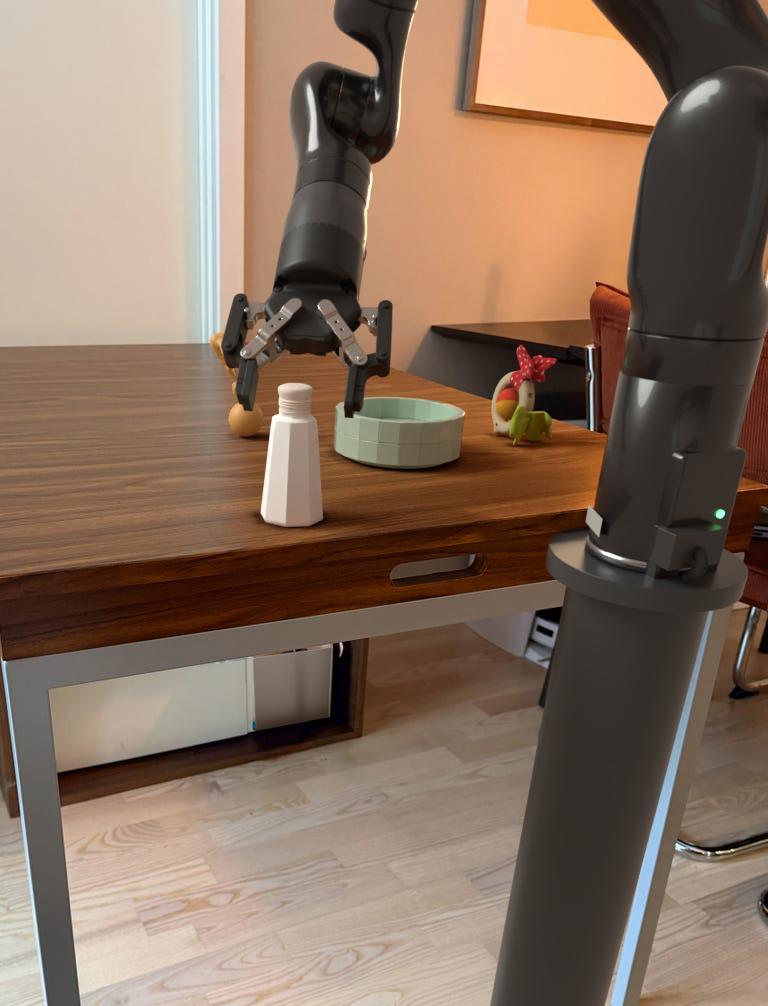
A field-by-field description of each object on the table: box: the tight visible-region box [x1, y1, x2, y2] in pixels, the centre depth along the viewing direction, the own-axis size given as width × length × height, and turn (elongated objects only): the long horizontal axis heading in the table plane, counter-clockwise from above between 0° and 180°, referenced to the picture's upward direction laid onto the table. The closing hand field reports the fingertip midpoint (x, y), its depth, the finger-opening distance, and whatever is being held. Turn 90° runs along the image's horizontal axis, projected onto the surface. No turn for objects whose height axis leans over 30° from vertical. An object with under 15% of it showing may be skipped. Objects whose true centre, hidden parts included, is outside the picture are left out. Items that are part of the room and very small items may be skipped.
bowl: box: [333, 396, 466, 470], centre depth 93 cm, size 14×14×5 cm
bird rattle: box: [491, 344, 558, 446], centre depth 101 cm, size 6×11×9 cm
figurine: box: [209, 330, 264, 438], centre depth 98 cm, size 8×6×12 cm
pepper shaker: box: [260, 382, 324, 528], centre depth 71 cm, size 5×5×11 cm
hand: (297, 409), depth 71 cm, fingers open, 8 cm apart
